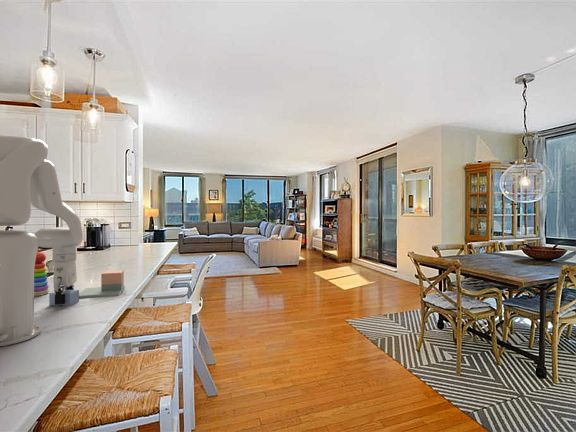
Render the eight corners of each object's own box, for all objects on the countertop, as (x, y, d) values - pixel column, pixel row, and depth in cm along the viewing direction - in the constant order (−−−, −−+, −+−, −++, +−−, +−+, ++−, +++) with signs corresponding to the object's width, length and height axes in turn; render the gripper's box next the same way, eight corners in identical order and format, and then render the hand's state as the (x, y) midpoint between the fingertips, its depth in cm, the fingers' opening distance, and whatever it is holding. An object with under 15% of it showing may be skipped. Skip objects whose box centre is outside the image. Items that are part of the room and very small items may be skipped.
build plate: (118, 295, 126) (118, 286, 126) (75, 298, 121) (75, 289, 121) (124, 287, 139) (124, 279, 139) (86, 290, 133) (86, 281, 133)
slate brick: (70, 305, 112) (70, 293, 112) (49, 305, 112) (49, 293, 112) (78, 301, 117) (79, 289, 117) (58, 301, 117) (58, 289, 117)
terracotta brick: (121, 283, 131) (121, 272, 131) (101, 284, 129) (101, 273, 129) (123, 280, 136) (123, 270, 136) (104, 282, 134) (104, 271, 133)
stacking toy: (20, 297, 121) (20, 253, 121) (32, 292, 129) (32, 251, 129) (43, 296, 123) (43, 253, 123) (52, 291, 131) (52, 250, 131)
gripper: (67, 260, 107) (67, 306, 108) (83, 254, 124) (82, 293, 124) (42, 261, 105) (42, 308, 105) (62, 254, 121) (62, 295, 122)
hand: (64, 300), depth 115 cm, fingers open, 8 cm apart
